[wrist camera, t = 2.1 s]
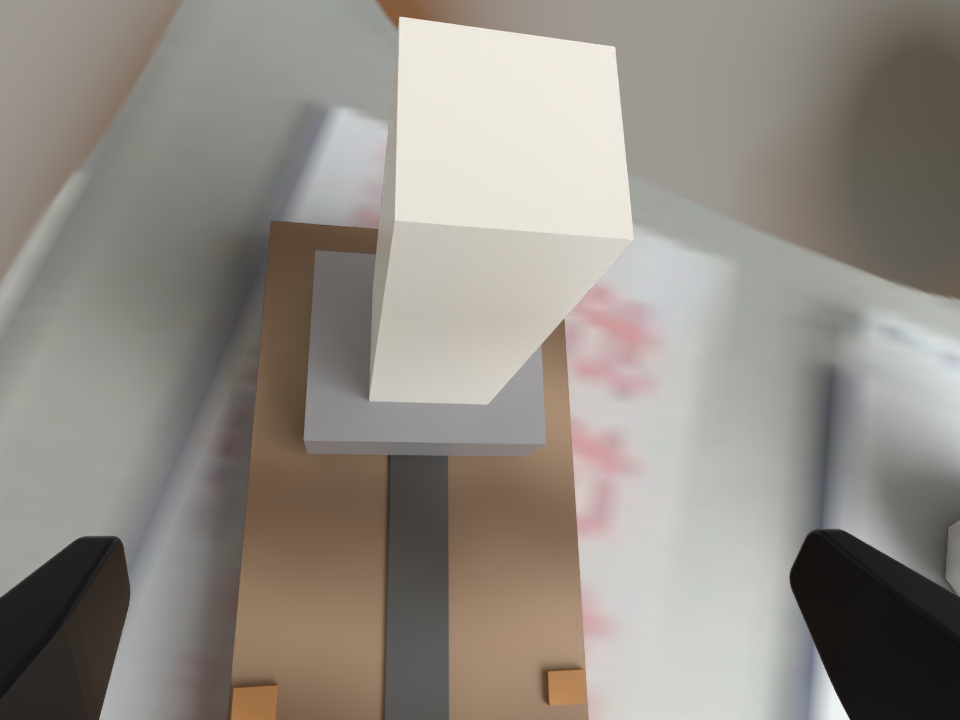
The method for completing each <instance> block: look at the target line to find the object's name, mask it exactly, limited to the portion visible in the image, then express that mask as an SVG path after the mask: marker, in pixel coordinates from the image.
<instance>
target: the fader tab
mask: <svg viewBox="0 0 960 720" xmlns="http://www.w3.org/2000/svg"><path fill="white" fill-rule="evenodd" d="M620 104H621V103H620V94H619V83H618V73H617V63H616V53H615V47H612V46H605V45H598V44H591V43H583V42H577V41H569V40H562V39H555V38H548V37H541V36H534V35H526V34H519V33H512V32H505V31H498V30H491V29H483V28H477V27H470V26H462V25H455V24H448V23H441V22H434V21H426V20H419V19H412V18H405V17H399V27H398V37H397V47H396V57H395V68H394V78H393V88H392V98H391V108H390V118H389V128H388V138H387V148H386V159H385V169H384V179H383V189H382V199H381V209H380V219H379V229H378V239H377V250H376V254H362V253H347V252H333V251H319V250H315V266H314V282H313V298H312V314H311V330H310V346H309V362H308V378H307V394H306V410H305V426H304V443H305V446H306V449H307V452H308V454H354V455H434V456H513V457H526V456H528V455H529V454H531V453H533V452H534V451H536V450H538V449H539V448H541V447H543V446H544V445H546V430H545V410H544V389H543V369H542V348H541V344H542V343H543V342H544V341H545V340H546V338H547V337H548V336H549V335H550V334H551V333H552V332H553V331H554V329H555V328H556V327H557V326H558V325H559V324H560V323H561V322H562V320H563V319H564V318H565V317H566V316H567V315H568V314H569V312H570V311H571V310H572V309H573V308H574V307H575V306H576V305H577V303H578V302H579V301H580V300H581V299H582V298H583V297H584V296H585V294H586V293H587V292H588V291H589V290H590V289H591V288H592V287H593V285H594V284H595V283H596V282H597V281H598V280H599V279H600V278H601V276H602V275H603V274H604V273H605V272H606V271H607V270H608V269H609V267H610V266H611V265H612V264H613V263H614V262H615V261H616V259H617V258H618V257H619V256H620V255H621V254H622V253H623V252H624V250H625V249H626V248H627V247H628V246H629V245H630V244H631V243H632V241H633V240H634V235H633V225H632V215H631V205H630V195H629V185H628V174H627V164H626V154H625V145H624V134H623V124H622V114H621V105H620Z"/></svg>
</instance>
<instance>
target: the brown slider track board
mask: <svg viewBox="0 0 960 720" xmlns="http://www.w3.org/2000/svg"><path fill="white" fill-rule="evenodd" d="M377 239H378V229H370V228H357V227H344V226H331V225H318V224H305V223H292V222H280V221H271V225H270V237H269V248H268V260H267V272H266V283H265V295H264V306H263V318H262V329H261V341H260V352H259V364H258V375H257V387H256V399H255V410H254V422H253V433H252V445H251V456H250V468H249V479H248V491H247V502H246V514H245V526H244V537H243V549H242V560H241V572H240V583H239V595H238V606H237V618H236V630H235V641H234V653H233V664H232V676H231V687H230V699H229V710H228V720H589V718H588V701H587V685H586V668H585V652H584V635H583V619H582V603H581V586H580V570H579V553H578V537H577V520H576V504H575V487H574V471H573V454H572V438H571V421H570V405H569V388H568V372H567V355H566V339H565V322H564V319H563V320H562V322H561V323H560V324H559V325H558V326H557V327H556V328H555V329H554V331H553V332H552V333H551V334H550V335H549V336H548V337H547V338H546V340H545V341H544V342H543V343H542V344H541V348H542V369H543V389H544V410H545V430H546V445H544V446H543V447H541V448H539V449H538V450H536V451H534V452H533V453H531V454H529V455H528V456H526V457H513V456H434V455H354V454H308V452H307V449H306V446H305V443H304V426H305V410H306V394H307V378H308V362H309V346H310V330H311V314H312V298H313V282H314V266H315V250H319V251H333V252H347V253H362V254H376V250H377Z"/></svg>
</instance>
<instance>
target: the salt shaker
mask: <svg viewBox="0 0 960 720" xmlns="http://www.w3.org/2000/svg"><path fill="white" fill-rule="evenodd" d="M945 579H946V580H947V582H948V583H949V584H950V586H951V587H952V588H953V590H954V591H955V592H956V594H957V595H958V596H959V597H960V520H959V521H957V522H956V523H954V524H952V525H951V526H949V527H948V538H947V556H946V574H945Z"/></svg>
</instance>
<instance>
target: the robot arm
mask: <svg viewBox="0 0 960 720" xmlns="http://www.w3.org/2000/svg"><path fill="white" fill-rule="evenodd" d="M789 577H790V586H791V589H792V592H793V594H794V596H795V599H796V601H797V603H798V606H799V608H800V610H801V613H802V615H803V618H804V620H805V622H806V625H807V627H808V629H809V632H810V634H811V636H812V639H813V641H814V643H815V646H816V648H817V650H818V653H819V655H820V657H821V660H822V662H823V665H824V667H825V669H826V672H827V674H828V676H829V678H830V681H831V683H832V685H833V687H834V689H835V692H836V694H837V696H838V698H839V700H840V702H841V704H842V706H843V708H844V710H845V711H846V713H847V715H848V717H849V719H850V720H960V597H959V596H957V595H955V594H954V593H952V592H950V591H948V590H947V589H945V588H943V587H941V586H940V585H938V584H936V583H934V582H933V581H931V580H929V579H927V578H926V577H924V576H922V575H921V574H919V573H917V572H915V571H914V570H912V569H910V568H908V567H907V566H905V565H903V564H901V563H900V562H898V561H896V560H894V559H893V558H891V557H889V556H887V555H886V554H884V553H882V552H880V551H879V550H877V549H875V548H873V547H872V546H870V545H868V544H866V543H865V542H863V541H861V540H859V539H858V538H856V537H854V536H853V535H851V534H849V533H847V532H845V531H843V530H840V529H815V530H812V531H811V532H809V533H808V534H807V536H806V538H805V540H804V542H803V544H802V546H801V548H800V550H799V553H798V555H797V557H796V559H795V561H794V563H793V566H792V568H791V570H790V576H789ZM129 601H130V583H129V577H128V571H127V565H126V559H125V553H124V547H123V544H122V542H121V540H120V539H119V538H118V537H115V536H85V537H81V538H79V539H77V540H75V541H74V542H72V543H71V544H70V545H68V546H67V547H66V548H64V549H63V550H62V551H60V552H59V553H58V554H57V555H55V556H54V557H53V558H51V559H50V560H49V561H47V562H46V563H45V564H44V565H42V566H41V567H40V568H38V569H37V570H36V571H34V572H33V573H32V574H31V575H29V576H28V577H27V578H25V579H24V580H23V581H21V582H20V583H19V584H18V585H16V586H15V587H14V588H12V589H11V590H10V591H8V592H7V593H6V594H5V595H3V596H2V597H1V598H0V720H99V717H100V714H101V710H102V706H103V702H104V698H105V695H106V691H107V687H108V683H109V679H110V676H111V672H112V668H113V664H114V660H115V657H116V653H117V649H118V645H119V641H120V638H121V634H122V630H123V626H124V622H125V619H126V615H127V611H128V607H129Z"/></svg>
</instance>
